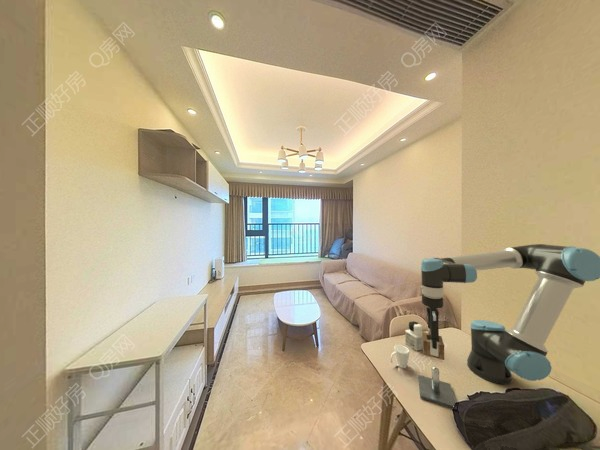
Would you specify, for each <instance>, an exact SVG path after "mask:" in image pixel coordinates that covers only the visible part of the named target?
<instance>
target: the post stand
mask: <svg viewBox="0 0 600 450" xmlns="http://www.w3.org/2000/svg"><path fill="white" fill-rule="evenodd" d="M417 380H418V388H419V398H420V399H421V400H424V401H426V402H431V403H433V404H436V405H439V406H441V407H442V406H443V407H445V408H449V409H451V410H453V409H452V408H453V406H454V404H455V403H457V401H456V398H455V394H454V392H453V389H452V385H451V383H448V382H445V381H442V380H440V370H439V368H438V367H437V366H432V367H431V377H428V376H424V375H420V374H417Z"/></svg>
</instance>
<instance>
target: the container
mask: <svg viewBox="0 0 600 450" xmlns="http://www.w3.org/2000/svg"><path fill="white" fill-rule="evenodd" d="M422 332H423V325H422V324H421V323H419V322H417V321H412V320H411V321H409V322H408V329H405V331H404V333H405V334H404V335H405V337H404V339H405V344H406V345H407V344H408V346H409V347H410V346H411V348H412V349H413V348H414V349H413V350H415V351H417V352H418V351H421V350H423V347H422Z"/></svg>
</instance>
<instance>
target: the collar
mask: <svg viewBox="0 0 600 450" xmlns="http://www.w3.org/2000/svg"><path fill="white" fill-rule="evenodd" d="M428 337H431V336H430V334H429V333H428V332H424V331H422V347H423V349H422V353H423V356H427V357H430V358H434V359H439V360H442V361H445V343H444V340H443V337H442V335H439V342H438V356H439V357H437V356H434V355H430V339H429V338H428Z"/></svg>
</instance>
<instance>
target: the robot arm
mask: <svg viewBox="0 0 600 450" xmlns="http://www.w3.org/2000/svg"><path fill="white" fill-rule="evenodd" d="M420 265H421V266H420V271H421V274H420V275H421V286H419V288H420V289H421V303H422V304H423V305H424V306H425V307H426V309H425V310H426V316H427V322H426V324H427V333H429V334H430V336H431V337H428V338H429V339H430V355H434V356H437V357H439V356H438V342H439V336H440V335H439V332H440V331H439V318H440V317H439V315H440V312H439V310H438V309H441V308H443V307H444V298H443V297H444V283H457V284H458V283H460V284H463V283H464V284H467V283H468V284H469V283H470V284H471V283H474V282H476V280H477V279H478V271H484V270H485V271H486V270H494V269H503V268H511V269H514V270H515V269H528V270H529V269H530V270H534V271H535V274H536V276H537V277H538V278H537V280H536V282H535V284H534V286H533V287H532V290H531V292H530V293H529V296H528V297H527V299H526V301H525V303H524V305H523V307H522V308H521V311H520V313H519V315H518V317H517V318H516V321H515V323H514V325H513V326H512V328H510V329H506V327H505V326H504V325H503V324H500V323H498V322H495V321H491V320H490V321H489V320H485V319H474V320H472V321H471V323H470V341H471V350H470V352H469V354H468V357H467V360H466V363H467V366H468V368H469V370H470V371H472V372H473V373H474V374H475V375H477V376H479V377H480V378H482V379H484V380H486V381H487V382H488V381H489V382H492V383H494V384H497V385H498V384H499V385H510V384H511V383H513V374H515V375H516V376H518V377H520V378H521V379H524V380H527V381H531V382H532V381H534V382H535V381H541V380H544V379H546V378H547V377H548V376H550V374H551V372H552V365H551V361H550V360H549V359H548V358H547V354H548V352H549V351H548V349H547V348H546V346H545V343H546V342H547V340H548V338H549V335H550V334H551V332H552V330H553V328H554V326H555V324H556V323H557V320H558V319H559V317H560V315H561V313H562V311H563V309H564V307H565V305H566V304H567V302H568V300H569V298H570V296H571V295H572V292H573V291H574V290H575V289H579V288H583V287H584V285H585V283H586V282H594V281H597V280H599V279H600V255H599V254H598V253H596V252H595V251H593V250H590V249H588V248H582V247H576V246H572V245H571V246H565V245H564V246H563V245H555V244H554V245H553V244H541V243H540V244H539V243H538V244H537V243H536V244H527V245H517V246H514V247H513V246H512V247H506V248H504V249H503V250H498V251H490V252H482V253H474V254H467V255H466V254H465V255H457V256H451V257H441V258H440V257H429V258H428V257H427V258H423V259H422V260H421V264H420ZM512 373H513V374H512Z"/></svg>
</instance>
